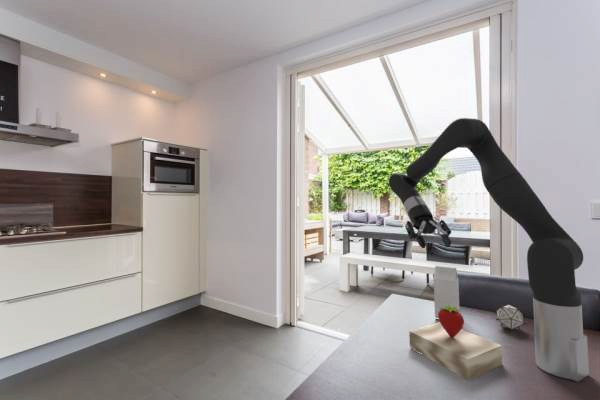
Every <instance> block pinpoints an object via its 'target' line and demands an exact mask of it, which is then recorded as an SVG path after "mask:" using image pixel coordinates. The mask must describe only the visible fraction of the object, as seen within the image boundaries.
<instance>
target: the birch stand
mask: <svg viewBox="0 0 600 400" xmlns="http://www.w3.org/2000/svg"><path fill="white" fill-rule="evenodd" d="M408 335H409V348H410V347H411V348H413V349H415V350H416V351H418V352H420V353H422V354H423V355H422V354H421V355H422V356H424V355H425V356H427V357H428V358H427V357H426V358H427V359H429V358H430V359H429V360H431V359H432V360H431V361H433V362H434V361H435V362H434V363H436V364H439V365H440V366H442V367H444V368H445V369H447V370H449V371H451V372H453V373H455V374H457V375H458V376H459V377H462V378H464V380H467V381H470V380H473V379H474V378H477V377H478V376H479V377H480V376H481V375H483V374H486V373H488V372H489V371H492V370H494V369H496V368H498V367H500V366H503V353H502V352H503V348H502V346H503V345H502V344H500V343H496V342H494V341H492V340H489V339H487V338H484V337H481V336H479V335H477V334H474V333H471V332H468V331H466V330H464V329H461V330H460V332H459V333H458V334H457V335H456V336H455V337H454V338H452V337H450V336H449V335H448V333H447V332H446V331H445V329H444V328H443V326H442V325H441V323H440V321H439V322H435V323H432V324H428V325H425V326H422V327H421V326H420V327H419V328H414V329H411V330H409V333H408ZM411 348H410V349H411ZM413 349H412V350H413ZM416 351H415V352H416ZM418 352H417V353H418ZM420 353H419V354H420ZM425 356H424V357H425Z"/></svg>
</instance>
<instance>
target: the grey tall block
mask: <svg viewBox="0 0 600 400" xmlns="http://www.w3.org/2000/svg"><path fill="white" fill-rule="evenodd" d="M433 274H434V275H433V298H434V302H433V303H434V318H435V317H436V318H438V313H439V311H440V310H441V309H440V308H446V306H449V305H450V307H457V308H455V309H458V310H461V309H460V288H459V286H460V285H459V275H458V271H457V267H450V266H441V265H435V268H434V273H433ZM447 302H448V303H447ZM457 312H459V313H460V314H461V312H460V311H457Z"/></svg>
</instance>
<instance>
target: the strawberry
mask: <svg viewBox="0 0 600 400" xmlns="http://www.w3.org/2000/svg"><path fill="white" fill-rule="evenodd" d="M447 303H448V302H447ZM455 308H457V307H450V305H449V306H446V308H440V309H441V310H440V311H439V313H438V318H439V320H438V321H439V322H440V323H441V325H442V326H443V328H444V329H445V331H446V332H447V333H448V335H449V336H450V337H452V338H454V337H455V336H456V335H457V334H458V333H459V332H460V330H463V327H464V323H465V320H464V316H463V315H462V314H461V312H460V313H459V312H457V311H460V310H461V309H460V310H458V309H455Z"/></svg>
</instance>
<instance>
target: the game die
mask: <svg viewBox="0 0 600 400" xmlns="http://www.w3.org/2000/svg"><path fill="white" fill-rule="evenodd" d="M499 306H500V308H498V309H495V308H494V311H495V312H496V318H495V321H499V323H500V326H501V327H502V326H504V327H506V328H508V329H509V330H510V331H509V332H511V333H513V330H514V329H516V328H517V329H520V328H521V327H520V326H522V325H525V326H527V325H528V324H527V322H525V319H524V317H523V315H524V316H525V313H524V312H521V310H520V309H521V308H520V307H514V306H513V305H510V302H509V301H508V302H507V305H504V306H503V305H501V304H500V305H499Z"/></svg>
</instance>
